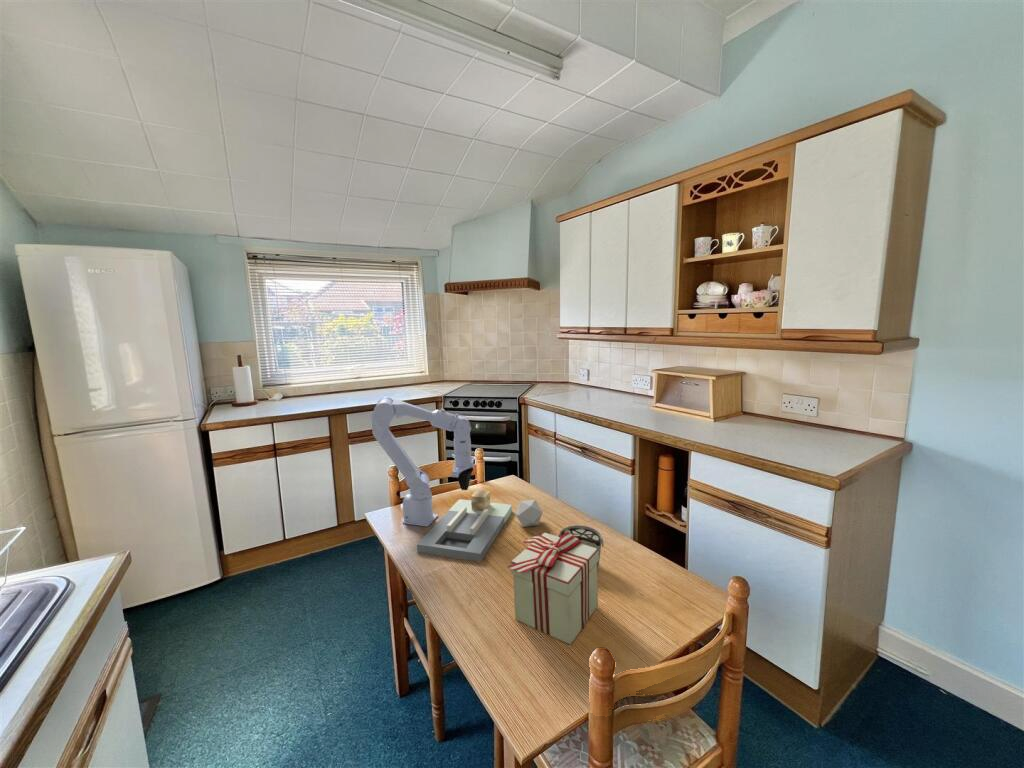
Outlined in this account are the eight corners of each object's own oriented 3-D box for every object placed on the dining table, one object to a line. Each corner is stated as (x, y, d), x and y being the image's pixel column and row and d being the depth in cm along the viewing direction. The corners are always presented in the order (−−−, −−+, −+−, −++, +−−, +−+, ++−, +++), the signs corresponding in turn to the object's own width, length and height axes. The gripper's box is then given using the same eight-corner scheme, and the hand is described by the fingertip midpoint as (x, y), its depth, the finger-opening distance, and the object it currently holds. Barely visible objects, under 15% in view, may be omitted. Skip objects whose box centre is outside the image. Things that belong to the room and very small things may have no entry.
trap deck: (417, 552, 124) (416, 538, 123) (459, 505, 153) (459, 494, 153) (480, 561, 118) (480, 547, 118) (512, 511, 148) (511, 499, 147)
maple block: (471, 509, 144) (471, 496, 144) (477, 503, 149) (476, 490, 148) (485, 511, 143) (484, 497, 142) (490, 504, 148) (489, 491, 147)
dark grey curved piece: (607, 562, 116) (608, 529, 115) (602, 575, 111) (603, 540, 109) (565, 553, 121) (565, 521, 120) (558, 564, 116) (558, 531, 114)
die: (537, 534, 133) (549, 506, 136) (513, 522, 133) (526, 494, 135) (531, 531, 141) (543, 504, 144) (508, 519, 141) (521, 493, 143)
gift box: (532, 580, 110) (530, 519, 107) (600, 603, 100) (601, 537, 97) (497, 622, 95) (494, 553, 92) (573, 653, 86) (573, 577, 83)
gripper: (465, 459, 134) (467, 499, 137) (481, 445, 148) (482, 482, 150) (445, 458, 136) (447, 497, 139) (462, 444, 150) (464, 480, 152)
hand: (464, 489), depth 145 cm, fingers closed
